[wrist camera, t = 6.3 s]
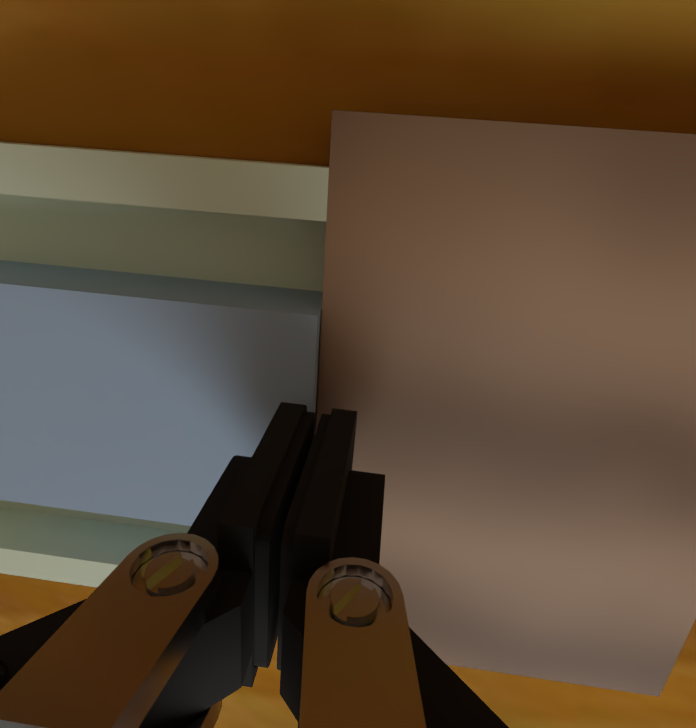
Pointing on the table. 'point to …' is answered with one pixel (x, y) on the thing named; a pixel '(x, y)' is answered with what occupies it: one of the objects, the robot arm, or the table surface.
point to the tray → (153, 257)
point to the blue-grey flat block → (142, 384)
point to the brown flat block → (522, 384)
